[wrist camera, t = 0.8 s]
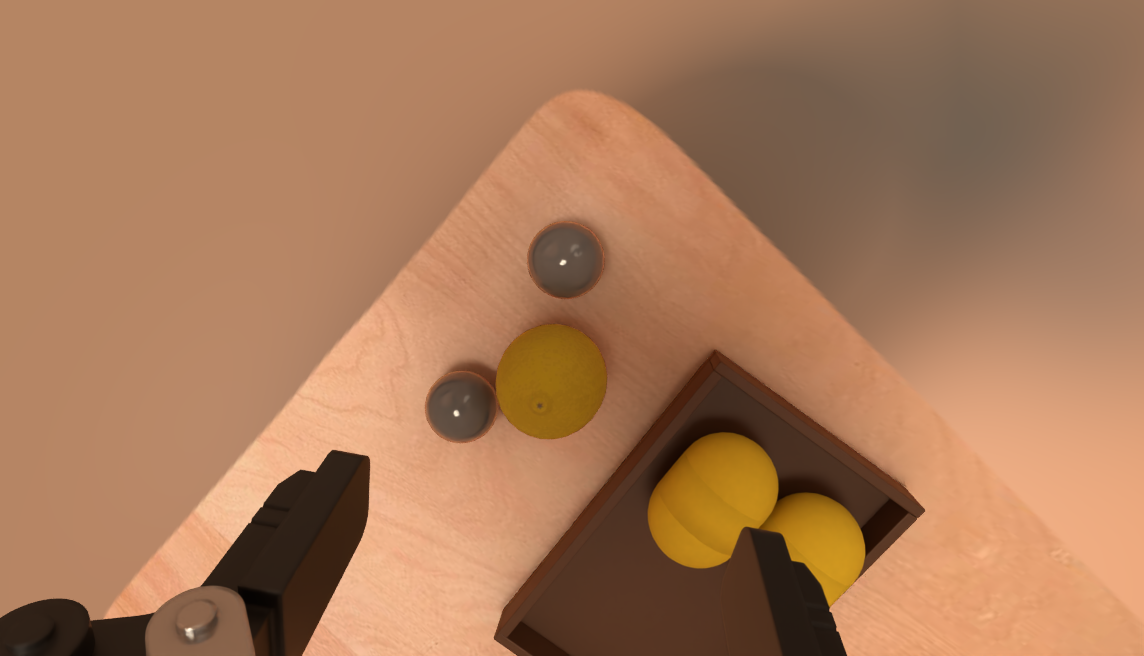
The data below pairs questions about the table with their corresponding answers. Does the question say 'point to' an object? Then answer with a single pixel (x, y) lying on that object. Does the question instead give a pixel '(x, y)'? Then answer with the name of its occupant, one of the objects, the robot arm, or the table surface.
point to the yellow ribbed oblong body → (712, 499)
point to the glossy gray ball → (565, 260)
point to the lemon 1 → (551, 381)
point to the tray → (640, 568)
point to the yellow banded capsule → (820, 539)
